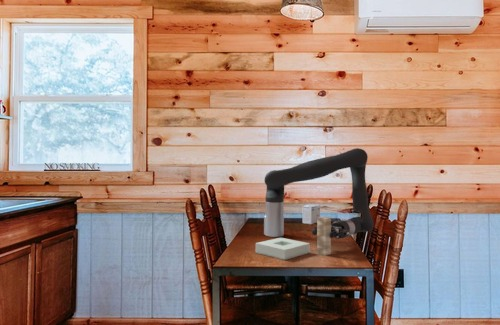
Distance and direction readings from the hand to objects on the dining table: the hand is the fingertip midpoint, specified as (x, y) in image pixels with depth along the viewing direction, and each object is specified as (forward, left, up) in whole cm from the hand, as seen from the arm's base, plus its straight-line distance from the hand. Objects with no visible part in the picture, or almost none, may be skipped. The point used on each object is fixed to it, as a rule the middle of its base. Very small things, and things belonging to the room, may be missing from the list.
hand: (321, 233), depth 153 cm
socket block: (-13, -9, -9) cm, 18 cm away
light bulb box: (-49, +60, -9) cm, 78 cm away
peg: (0, +2, -9) cm, 9 cm away
